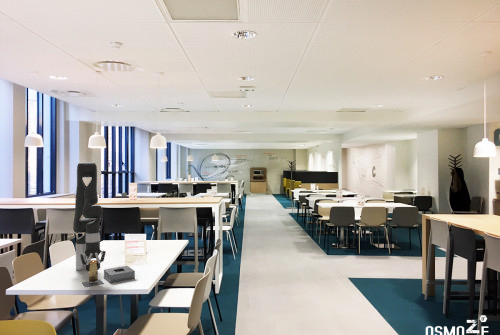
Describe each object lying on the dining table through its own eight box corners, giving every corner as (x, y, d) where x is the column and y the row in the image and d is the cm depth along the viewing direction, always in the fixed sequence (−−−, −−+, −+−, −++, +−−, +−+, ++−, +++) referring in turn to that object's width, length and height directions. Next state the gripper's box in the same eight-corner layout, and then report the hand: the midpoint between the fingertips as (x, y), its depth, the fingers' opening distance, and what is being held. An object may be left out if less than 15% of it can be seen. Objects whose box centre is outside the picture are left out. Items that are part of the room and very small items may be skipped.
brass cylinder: (87, 280, 205) (87, 261, 205) (96, 278, 208) (96, 259, 208) (89, 282, 201) (89, 263, 201) (98, 280, 204) (98, 261, 204)
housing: (103, 277, 216) (103, 269, 216) (127, 273, 224) (127, 265, 224) (110, 283, 204) (110, 275, 204) (134, 279, 213) (134, 270, 213)
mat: (81, 283, 206) (81, 282, 206) (99, 279, 211) (99, 279, 211) (85, 288, 198) (85, 287, 198) (104, 284, 203) (104, 283, 203)
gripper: (104, 238, 212) (104, 266, 212) (77, 241, 203) (77, 270, 203) (107, 240, 206) (107, 269, 206) (80, 243, 197) (80, 274, 197)
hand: (92, 270), depth 204 cm, fingers closed on brass cylinder, 5 cm apart
